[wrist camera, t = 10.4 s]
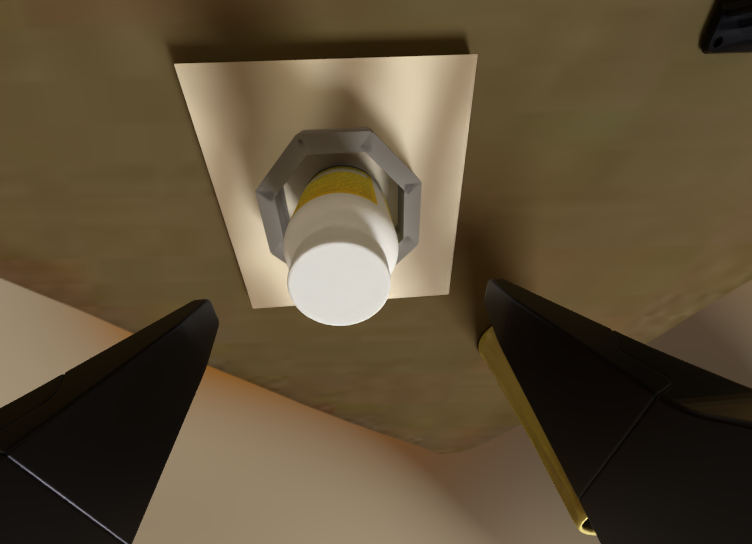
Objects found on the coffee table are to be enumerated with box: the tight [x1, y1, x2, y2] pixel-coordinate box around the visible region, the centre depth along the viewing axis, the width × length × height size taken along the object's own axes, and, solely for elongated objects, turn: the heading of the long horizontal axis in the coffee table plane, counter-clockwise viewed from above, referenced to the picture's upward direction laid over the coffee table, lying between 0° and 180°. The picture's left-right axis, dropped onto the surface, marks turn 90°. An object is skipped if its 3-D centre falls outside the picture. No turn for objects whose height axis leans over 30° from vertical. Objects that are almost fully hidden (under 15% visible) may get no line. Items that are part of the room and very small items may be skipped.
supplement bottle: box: [283, 164, 398, 326], centre depth 15 cm, size 5×5×10 cm
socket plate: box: [174, 54, 478, 308], centre depth 19 cm, size 16×16×4 cm
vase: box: [478, 326, 596, 535], centre depth 23 cm, size 6×6×14 cm
